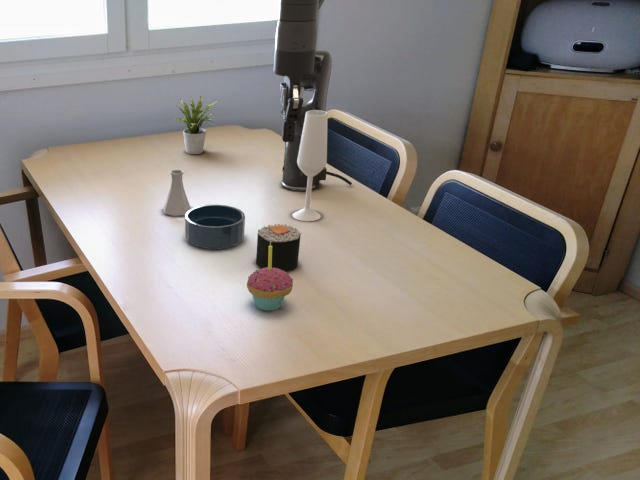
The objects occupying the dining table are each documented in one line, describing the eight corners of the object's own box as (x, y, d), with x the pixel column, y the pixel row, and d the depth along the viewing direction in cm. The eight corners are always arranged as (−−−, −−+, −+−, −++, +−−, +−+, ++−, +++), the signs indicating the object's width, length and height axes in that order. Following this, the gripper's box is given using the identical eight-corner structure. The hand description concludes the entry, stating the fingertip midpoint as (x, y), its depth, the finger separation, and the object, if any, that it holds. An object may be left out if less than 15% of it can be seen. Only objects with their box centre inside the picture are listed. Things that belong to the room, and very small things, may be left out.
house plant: (220, 159, 200) (222, 102, 191) (173, 160, 201) (173, 103, 191) (217, 145, 212) (219, 90, 203) (173, 146, 212) (172, 91, 203)
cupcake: (242, 295, 131) (244, 237, 124) (285, 292, 131) (290, 235, 125) (250, 317, 124) (254, 257, 117) (296, 314, 124) (302, 254, 117)
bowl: (240, 226, 159) (241, 203, 156) (246, 250, 148) (248, 226, 145) (184, 227, 159) (184, 205, 156) (186, 251, 148) (186, 228, 145)
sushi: (249, 260, 143) (251, 225, 139) (283, 253, 146) (286, 218, 141) (269, 276, 137) (271, 240, 133) (304, 268, 140) (308, 232, 135)
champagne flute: (323, 212, 164) (335, 110, 151) (316, 222, 159) (328, 117, 146) (296, 209, 167) (305, 108, 153) (288, 218, 162) (297, 115, 148)
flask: (189, 217, 164) (189, 177, 158) (160, 216, 165) (159, 175, 160) (194, 206, 170) (194, 167, 164) (165, 205, 171) (164, 166, 165)
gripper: (322, 52, 120) (312, 150, 129) (309, 40, 131) (301, 131, 140) (279, 53, 120) (272, 151, 129) (270, 41, 131) (265, 132, 140)
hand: (287, 140), depth 135 cm, fingers closed
